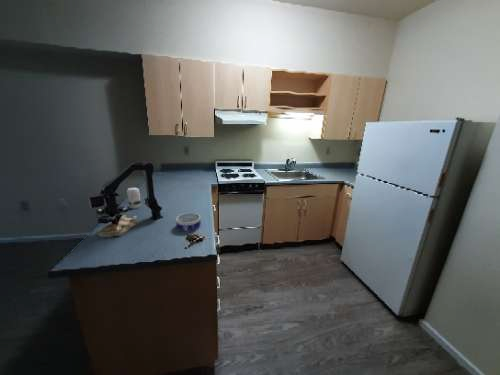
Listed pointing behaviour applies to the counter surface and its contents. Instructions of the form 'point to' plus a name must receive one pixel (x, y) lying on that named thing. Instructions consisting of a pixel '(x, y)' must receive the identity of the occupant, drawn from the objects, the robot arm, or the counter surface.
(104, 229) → the walnut block
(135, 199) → the supplement can
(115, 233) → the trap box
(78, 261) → the counter surface
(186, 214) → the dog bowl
